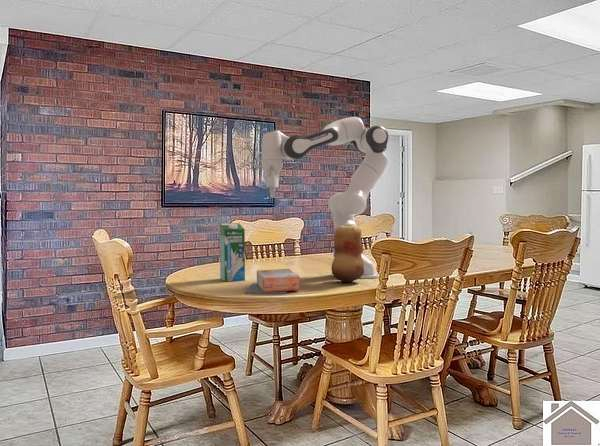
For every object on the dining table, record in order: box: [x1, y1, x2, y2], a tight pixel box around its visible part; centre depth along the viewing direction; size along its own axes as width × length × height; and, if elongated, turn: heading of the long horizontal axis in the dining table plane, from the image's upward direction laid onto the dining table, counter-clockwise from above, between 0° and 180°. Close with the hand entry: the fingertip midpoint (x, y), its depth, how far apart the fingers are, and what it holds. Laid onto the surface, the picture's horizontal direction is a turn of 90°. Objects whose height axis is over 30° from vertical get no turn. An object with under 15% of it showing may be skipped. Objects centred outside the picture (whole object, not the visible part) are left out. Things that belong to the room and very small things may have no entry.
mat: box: [243, 282, 288, 295], centre depth 198 cm, size 16×21×1 cm
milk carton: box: [219, 222, 246, 282], centre depth 220 cm, size 9×9×25 cm
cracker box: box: [256, 268, 301, 292], centre depth 199 cm, size 14×6×21 cm
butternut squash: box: [331, 224, 364, 283], centre depth 212 cm, size 14×13×25 cm
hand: (272, 197), depth 223 cm, fingers closed
